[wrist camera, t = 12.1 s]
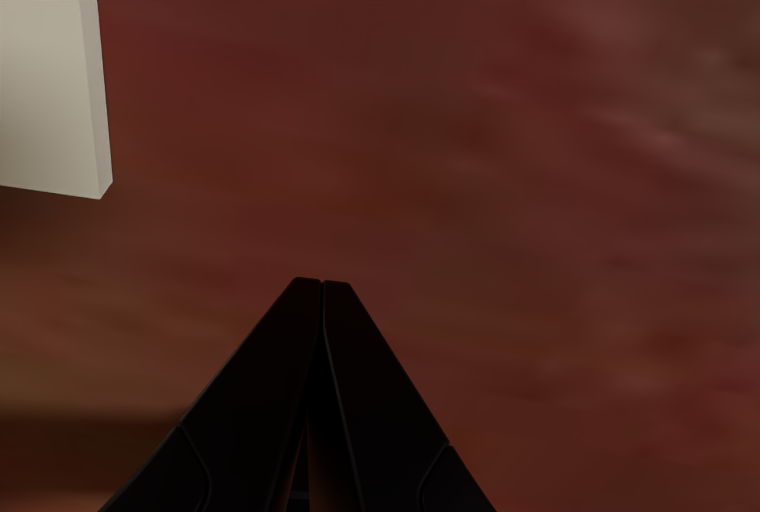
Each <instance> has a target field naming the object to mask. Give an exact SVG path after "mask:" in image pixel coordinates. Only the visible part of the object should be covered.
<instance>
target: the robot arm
mask: <svg viewBox="0 0 760 512" xmlns="http://www.w3.org/2000/svg"><path fill="white" fill-rule="evenodd" d="M307 408H308V409H307ZM449 444H450V442H449V440H448V438H447V437H446V435H445V433H444V432H443V430H442V429H441V427H440V425H439V424H438V422H437V421H436V419H435V418H434V416H433V414H432V413H431V411H430V410H429V408H428V407H427V405H426V403H425V402H424V400H423V399H422V397H421V396H420V394H419V392H418V391H417V389H416V388H415V386H414V384H413V383H412V381H411V380H410V378H409V377H408V375H407V373H406V372H405V370H404V369H403V367H402V366H401V364H400V362H399V361H398V359H397V358H396V356H395V355H394V353H393V351H392V350H391V348H390V347H389V345H388V343H387V342H386V340H385V339H384V337H383V336H382V334H381V332H380V331H379V329H378V328H377V326H376V325H375V323H374V321H373V320H372V318H371V317H370V315H369V314H368V312H367V310H366V309H365V307H364V306H363V304H362V302H361V301H360V299H359V298H358V296H357V295H356V293H355V291H354V290H353V288H352V287H351V285H350V284H349V283H347V282H340V281H331V280H325V281H323V283H321V281H320V280H319V279H313V278H304V277H296V278H294V279H293V280H292V281H291V282H290V284H289V285H288V286H287V287H286V288H285V290H284V291H283V292H282V293H281V295H280V296H279V297H278V298H277V300H276V301H275V302H274V303H273V304H272V306H271V307H270V308H269V309H268V311H267V312H266V313H265V314H264V316H263V317H262V318H261V319H260V321H259V322H258V323H257V324H256V325H255V327H254V328H253V329H252V330H251V332H250V333H249V334H248V335H247V337H246V338H245V339H244V340H243V341H242V343H241V344H240V345H239V346H238V348H237V349H236V350H235V351H234V353H233V354H232V355H231V356H230V357H229V359H228V360H227V361H226V362H225V364H224V365H223V366H222V367H221V369H220V370H219V371H218V372H217V373H216V375H215V376H214V377H213V378H212V380H211V381H210V382H209V383H208V385H207V386H206V387H205V388H204V389H203V391H202V392H201V393H200V394H199V396H198V397H197V398H196V399H195V401H194V402H193V403H192V404H191V405H190V407H189V408H188V409H187V410H186V412H185V413H184V414H183V415H182V417H181V418H180V419H179V420H178V422H177V426H174V427H172V428H171V430H170V431H169V432H168V433H167V435H166V436H165V437H164V438H163V440H162V441H161V442H160V443H159V444H158V446H157V447H156V448H155V449H154V451H153V452H152V453H151V454H150V455H149V456H148V457H147V459H146V460H145V461H144V462H143V463H142V464H141V466H140V467H139V468H138V469H137V470H136V471H135V472H134V474H133V475H132V476H131V477H130V478H129V479H128V481H127V482H126V483H125V484H124V485H123V486H122V487H121V488H120V489H119V490H118V491H117V492H116V493H115V494H114V495H113V496H112V497H111V498H110V499H109V500H108V501H107V502H106V503H105V504H104V505H103V506H102V508H101V509H100V510H99V511H98V512H497V511H496V510H495V509H494V507H493V506H492V505H491V503H490V502H489V500H488V499H487V497H486V496H485V495H484V493H483V492H482V490H481V489H480V487H479V486H478V484H477V483H476V481H475V480H474V478H473V477H472V475H471V474H470V472H469V471H468V469H467V468H466V466H465V465H464V463H463V462H462V460H461V458H460V457H459V455H458V454H457V452H456V450H455V449H454V447H453V446H449Z"/></svg>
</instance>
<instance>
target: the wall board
mask: <svg viewBox="0 0 760 512" xmlns="http://www.w3.org/2000/svg"><path fill="white" fill-rule="evenodd" d="M112 182H113V179H112V168H111V156H110V145H109V133H108V121H107V110H106V98H105V87H104V75H103V64H102V52H101V41H100V29H99V17H98V6H97V0H0V185H3V186H10V187H17V188H24V189H31V190H38V191H44V192H51V193H58V194H65V195H72V196H79V197H86V198H93V199H101V197H102V196H103V194H104V193H105V192H106V190H107V189H108V187H109V186H110V185H111V183H112Z"/></svg>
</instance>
